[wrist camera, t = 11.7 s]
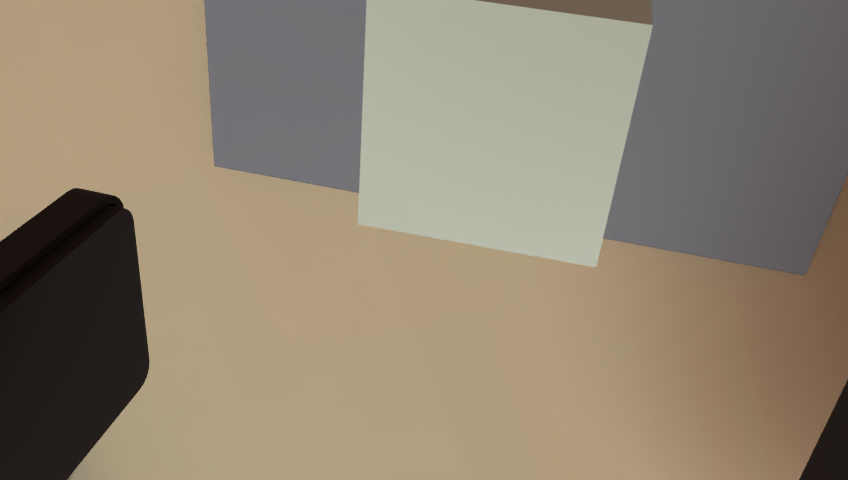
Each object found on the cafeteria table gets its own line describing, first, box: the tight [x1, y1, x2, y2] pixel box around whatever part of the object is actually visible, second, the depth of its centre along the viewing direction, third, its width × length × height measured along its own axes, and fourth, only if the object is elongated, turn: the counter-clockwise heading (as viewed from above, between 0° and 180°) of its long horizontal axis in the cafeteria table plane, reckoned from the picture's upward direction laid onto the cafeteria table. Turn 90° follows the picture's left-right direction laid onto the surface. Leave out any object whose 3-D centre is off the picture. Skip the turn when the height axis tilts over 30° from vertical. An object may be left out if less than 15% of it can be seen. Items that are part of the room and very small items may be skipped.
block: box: [358, 0, 653, 267], centre depth 18 cm, size 5×5×7 cm
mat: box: [204, 0, 848, 276], centre depth 21 cm, size 18×12×1 cm, turn 85°
